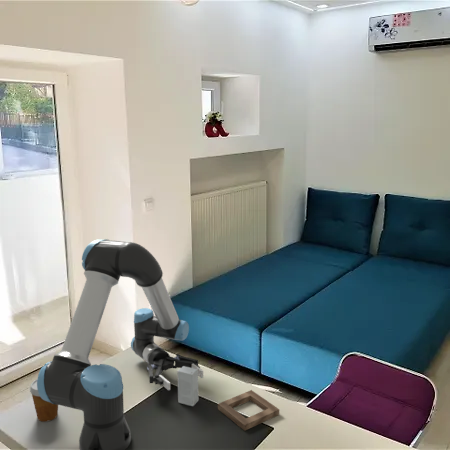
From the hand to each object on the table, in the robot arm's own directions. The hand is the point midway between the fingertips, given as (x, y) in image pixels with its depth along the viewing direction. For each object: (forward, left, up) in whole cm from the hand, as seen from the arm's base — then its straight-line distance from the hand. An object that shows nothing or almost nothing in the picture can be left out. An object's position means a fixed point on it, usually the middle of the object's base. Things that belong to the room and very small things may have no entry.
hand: (186, 380), depth 171 cm
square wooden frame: (+12, -19, -7) cm, 24 cm away
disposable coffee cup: (-43, +18, -7) cm, 47 cm away
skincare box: (-1, -2, -7) cm, 7 cm away
